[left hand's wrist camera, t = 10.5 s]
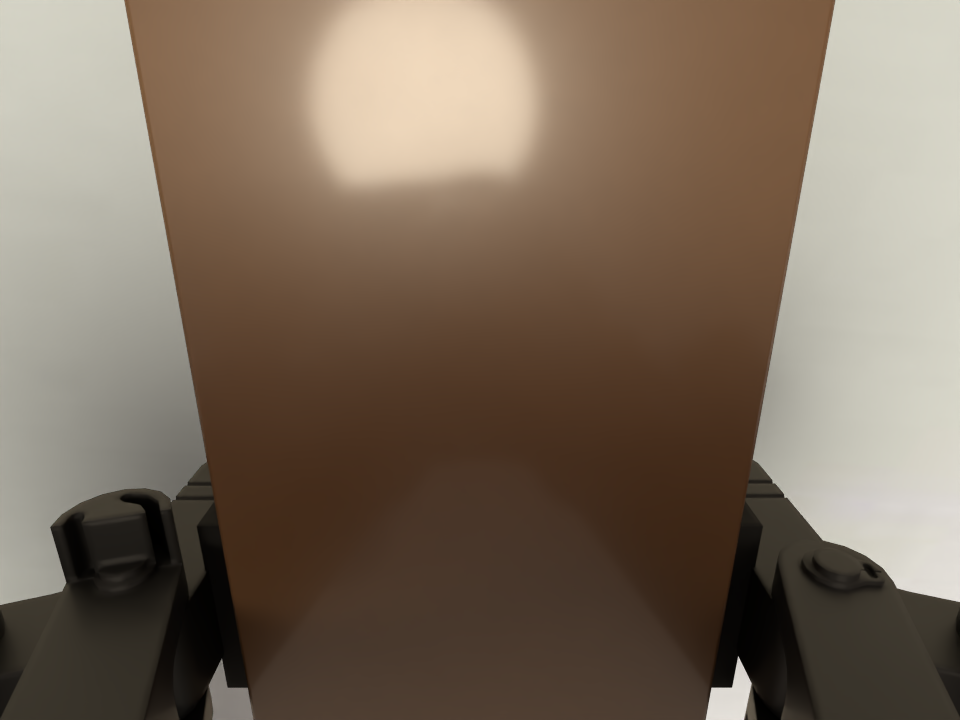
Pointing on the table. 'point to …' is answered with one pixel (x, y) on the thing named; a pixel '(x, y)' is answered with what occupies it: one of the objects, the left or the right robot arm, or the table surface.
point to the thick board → (479, 333)
